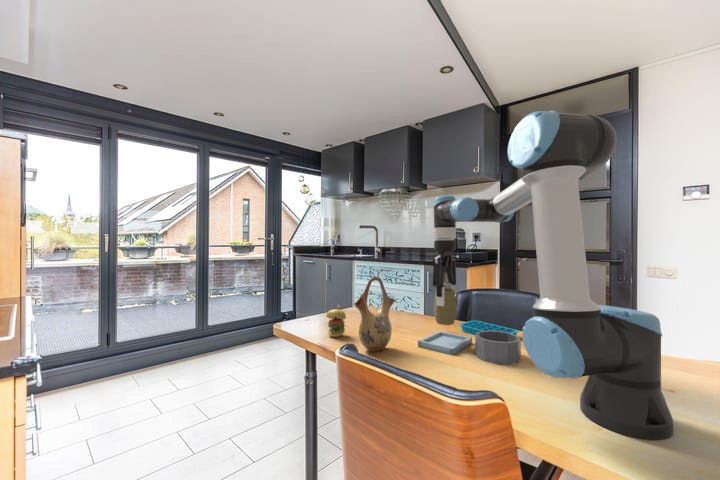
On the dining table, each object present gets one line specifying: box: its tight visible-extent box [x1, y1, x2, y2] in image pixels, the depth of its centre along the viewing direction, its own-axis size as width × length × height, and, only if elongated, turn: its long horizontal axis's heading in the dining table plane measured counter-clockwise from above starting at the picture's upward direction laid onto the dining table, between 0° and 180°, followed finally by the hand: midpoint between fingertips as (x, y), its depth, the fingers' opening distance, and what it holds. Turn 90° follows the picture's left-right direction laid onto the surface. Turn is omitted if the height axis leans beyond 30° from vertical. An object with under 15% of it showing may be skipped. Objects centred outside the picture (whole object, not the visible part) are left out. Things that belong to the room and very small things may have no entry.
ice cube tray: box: [458, 320, 520, 336], centre depth 129 cm, size 12×20×3 cm, turn 36°
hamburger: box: [326, 304, 347, 338], centre depth 128 cm, size 8×7×12 cm
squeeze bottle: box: [433, 273, 458, 326], centre depth 116 cm, size 8×8×18 cm
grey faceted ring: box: [474, 330, 522, 365], centre depth 104 cm, size 13×13×6 cm
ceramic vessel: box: [353, 276, 396, 352], centre depth 111 cm, size 16×9×25 cm, turn 121°
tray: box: [417, 330, 473, 356], centre depth 116 cm, size 16×13×2 cm
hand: (445, 304), depth 116 cm, fingers closed on squeeze bottle, 6 cm apart
